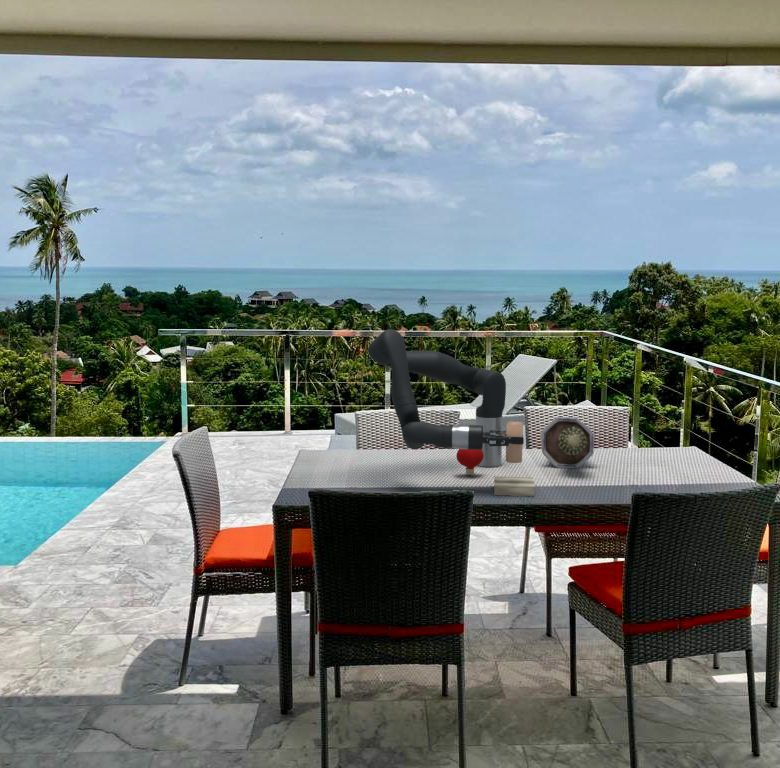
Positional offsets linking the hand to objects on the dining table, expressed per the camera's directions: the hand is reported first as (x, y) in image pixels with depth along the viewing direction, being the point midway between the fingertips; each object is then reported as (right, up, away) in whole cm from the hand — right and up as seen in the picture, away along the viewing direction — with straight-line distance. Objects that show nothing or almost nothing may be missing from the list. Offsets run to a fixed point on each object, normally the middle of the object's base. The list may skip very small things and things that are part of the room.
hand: (522, 439), depth 258 cm
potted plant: (+20, -12, +33) cm, 41 cm away
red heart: (-14, -14, +22) cm, 30 cm away
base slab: (-2, -16, +3) cm, 17 cm away
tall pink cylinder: (-3, -7, +1) cm, 7 cm away
